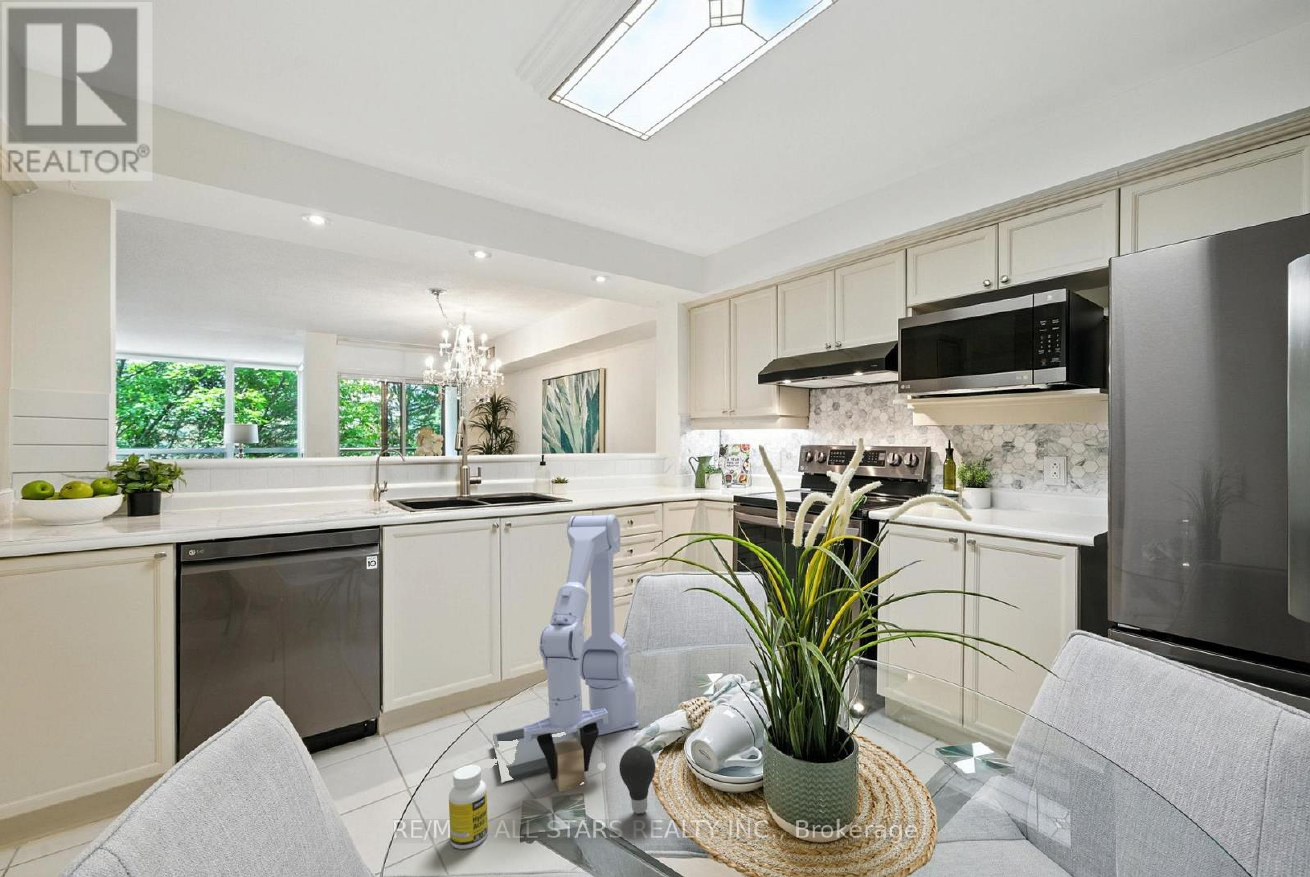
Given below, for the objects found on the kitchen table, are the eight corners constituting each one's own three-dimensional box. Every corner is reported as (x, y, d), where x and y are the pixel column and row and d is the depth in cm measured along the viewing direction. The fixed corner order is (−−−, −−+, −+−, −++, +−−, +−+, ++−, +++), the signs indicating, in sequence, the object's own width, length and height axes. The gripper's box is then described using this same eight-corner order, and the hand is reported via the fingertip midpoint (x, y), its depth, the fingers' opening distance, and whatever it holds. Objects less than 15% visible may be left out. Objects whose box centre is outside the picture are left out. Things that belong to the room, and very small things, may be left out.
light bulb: (654, 799, 92) (651, 737, 92) (660, 821, 87) (657, 754, 87) (620, 805, 91) (616, 742, 91) (624, 827, 86) (620, 760, 86)
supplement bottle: (477, 852, 82) (473, 783, 82) (443, 849, 83) (440, 780, 84) (495, 827, 87) (491, 762, 88) (462, 825, 88) (459, 761, 89)
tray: (572, 728, 118) (572, 716, 119) (590, 760, 105) (589, 746, 106) (493, 746, 113) (492, 734, 113) (501, 783, 100) (500, 768, 100)
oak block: (579, 772, 102) (577, 738, 102) (585, 784, 98) (583, 749, 98) (554, 778, 100) (552, 743, 100) (559, 791, 96) (557, 755, 96)
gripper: (526, 711, 93) (530, 796, 93) (611, 693, 98) (615, 773, 98) (520, 695, 100) (524, 774, 99) (600, 679, 105) (604, 754, 104)
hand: (569, 772), depth 99 cm, fingers open, 5 cm apart
